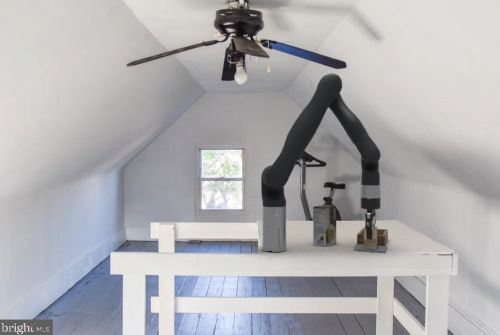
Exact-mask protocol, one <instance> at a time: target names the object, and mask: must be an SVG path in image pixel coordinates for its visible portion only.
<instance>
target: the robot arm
mask: <svg viewBox="0 0 500 335" xmlns="http://www.w3.org/2000/svg"><path fill="white" fill-rule="evenodd" d="M342 88H343V81H342V78H341V77H340V76H339V74H337V73H333V72H331V73H328V74H324V76H322V77H321V78H320V80H319V82H318V83H317V86H316V89H315V91H314V94H313V96H312V97H311V99H310V100H309V102H308V103H307V105H306V106H305V107H304V108H303V110H302V111H301V112H300V114H299V115H298V117H297V118H296V119H295V121H294V122H293V124H292V126H291V127H290V129H289V131H288V133H287V135H286V138H285V140H284V144H283V147H282V149H281V152H280V153H279V155H278V157H276V159H275V161H274V162H273V163H272V164H271V165H267V166H266V167H265V168H264V169H263V170H262V172H261V177H260V178H261V179H260V182H261V183H260V187H261V189H260V190H261V202H262V251H263V252H268V251H272V253H280V252H284V251H286V250H287V199H286V195H285V186H286V184H287V183H288V181H289V178H290V177H291V175H292V172H293V170H294V169H295V167H296V164H297V163H298V161H299V159H300V158H301V156H303V153H304V152H305V151H306V149H307V147H308V146H309V144H310V143H311V141H312V139H313V138H314V136H315V134H316V133H317V130H318V129H319V127H320V125H321V123H322V122H323V118H324V116H325V115H326V112H327V110H328V109H330V111H331V112H332V113H333V115H334V116H335V118H336V119H337V121H338V122H339V124H340V125H341V126H342V128H343V130H344V131H345V133H346V135H347V137H348V138H349V139H350V141H351V143H352V144H353V145H354V146H355V147H356V149H357V151H358V153H359V154H360V164H361V181H360V184H361V185H360V187H361V188H360V208H361V209H363V210H366V212H364V224H365V226H364V227H365V229H366V239H369V240H372V230H373V227H376V223H377V212H376V210H380V209H381V184H380V183H381V175H380V171H379V168H380V167H379V166H380V165H379V161H380V159H381V157H382V156H381V154H382V153H381V151H380V149H379V147H378V146H377V144H376V143H375V142H374V140H373V139H372V137H371V136H370V135H369V133H368V131H367V129H366V127H365V126H364V125H363V123H362V121H361V120H360V119H359V117H358V116H357V115H356V114H355V113H354V112H353V111H352V110H351V109H350V108H349V107H348V105H347V104H346V103H345V101H344V99H343V98H342V96H341V95H342V94H341V91H342Z"/></svg>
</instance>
